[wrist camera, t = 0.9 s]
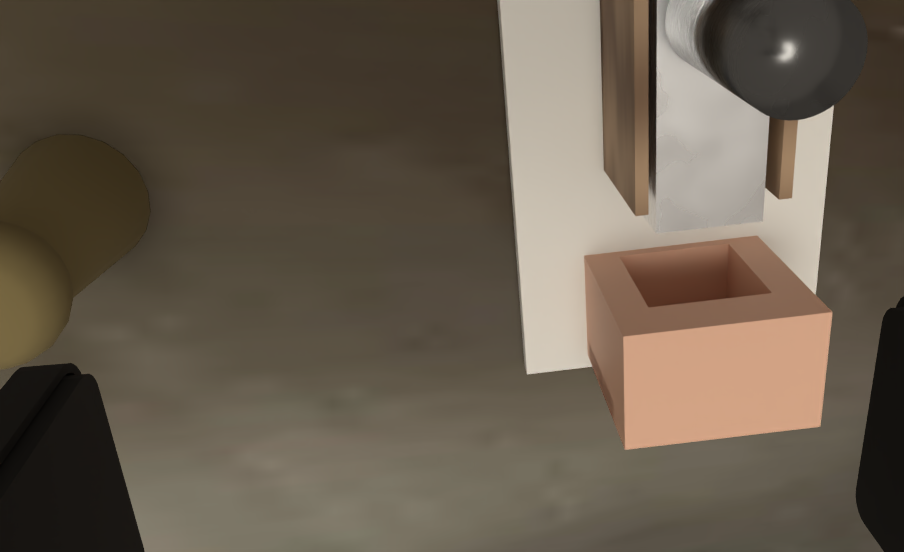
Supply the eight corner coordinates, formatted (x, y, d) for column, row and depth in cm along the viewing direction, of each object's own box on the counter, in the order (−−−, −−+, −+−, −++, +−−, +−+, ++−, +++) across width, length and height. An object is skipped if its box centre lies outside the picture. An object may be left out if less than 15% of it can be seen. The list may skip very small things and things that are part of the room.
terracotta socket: (584, 255, 39) (623, 336, 32) (757, 235, 39) (832, 311, 33) (587, 354, 41) (624, 449, 35) (751, 335, 42) (820, 426, 35)
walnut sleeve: (597, -76, 33) (633, -66, 28) (751, -94, 33) (813, -86, 28) (603, 170, 37) (635, 216, 33) (739, 154, 38) (792, 198, 33)
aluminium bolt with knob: (626, -49, 33) (730, -12, 23) (735, -61, 33) (886, -29, 23) (629, 196, 37) (716, 319, 27) (725, 185, 37) (848, 303, 27)
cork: (-13, 144, 36) (-166, 248, 27) (128, 124, 36) (28, 221, 26) (34, 271, 39) (-88, 409, 29) (166, 253, 39) (88, 385, 29)
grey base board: (492, -66, 34) (494, -65, 33) (841, -106, 34) (853, -105, 33) (524, 363, 43) (526, 374, 42) (802, 330, 43) (811, 340, 42)
